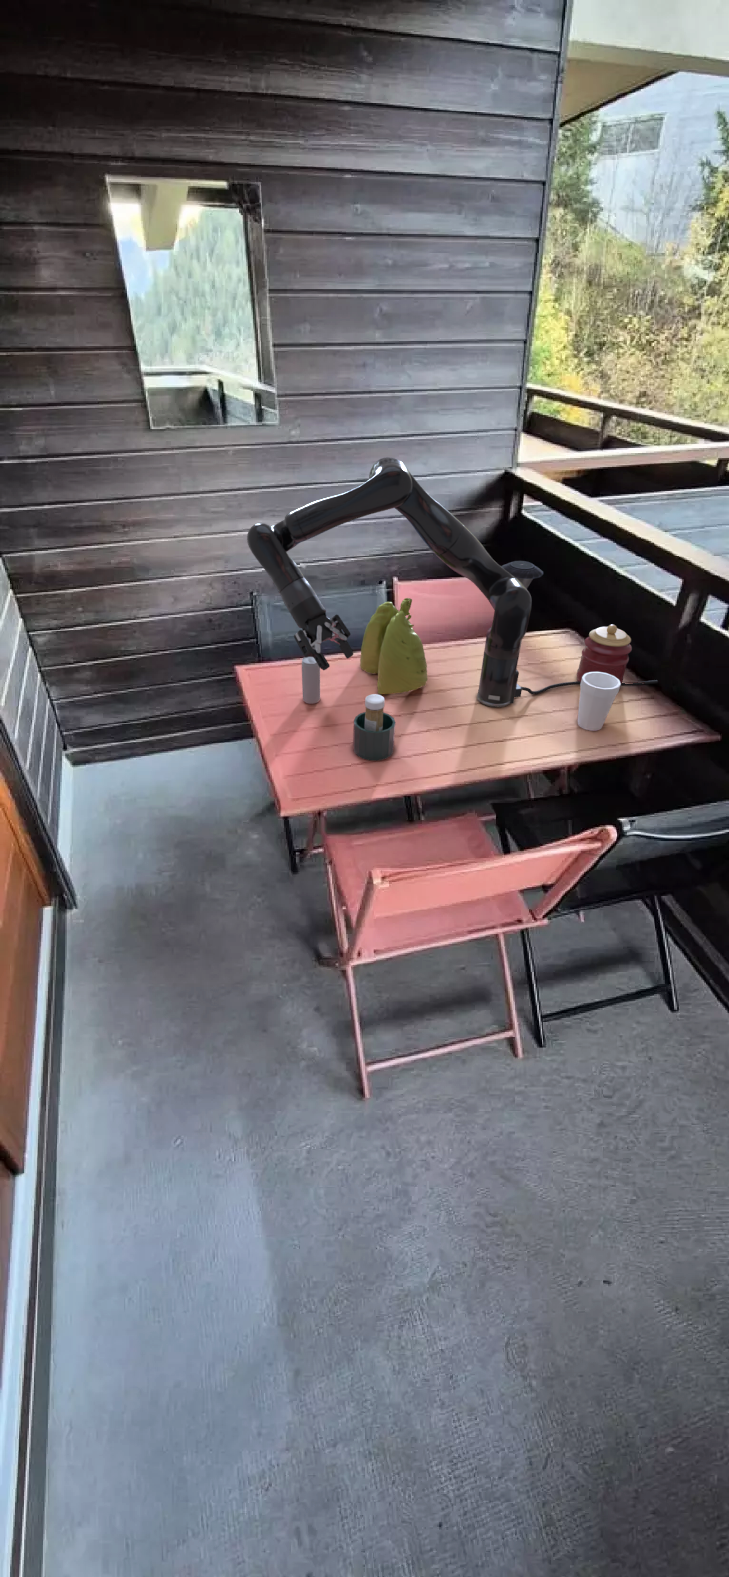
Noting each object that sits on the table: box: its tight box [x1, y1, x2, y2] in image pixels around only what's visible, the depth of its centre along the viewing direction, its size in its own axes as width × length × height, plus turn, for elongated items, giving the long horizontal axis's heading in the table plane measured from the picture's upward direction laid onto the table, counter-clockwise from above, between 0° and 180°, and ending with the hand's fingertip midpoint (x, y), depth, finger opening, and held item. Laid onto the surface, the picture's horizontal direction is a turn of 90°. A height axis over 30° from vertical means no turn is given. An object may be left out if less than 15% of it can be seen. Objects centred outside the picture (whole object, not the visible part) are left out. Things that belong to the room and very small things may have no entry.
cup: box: [352, 711, 396, 762], centre depth 169 cm, size 10×10×8 cm
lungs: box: [359, 597, 428, 695], centre depth 194 cm, size 25×16×24 cm, turn 18°
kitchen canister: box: [576, 624, 633, 684], centre depth 198 cm, size 13×13×18 cm
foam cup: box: [577, 672, 621, 732], centre depth 180 cm, size 10×9×13 cm
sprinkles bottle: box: [364, 693, 386, 731], centre depth 167 cm, size 5×5×13 cm
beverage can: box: [301, 656, 321, 705], centre depth 186 cm, size 5×5×12 cm
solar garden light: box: [500, 560, 544, 590], centre depth 203 cm, size 12×12×30 cm
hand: (338, 662), depth 165 cm, fingers open, 8 cm apart
